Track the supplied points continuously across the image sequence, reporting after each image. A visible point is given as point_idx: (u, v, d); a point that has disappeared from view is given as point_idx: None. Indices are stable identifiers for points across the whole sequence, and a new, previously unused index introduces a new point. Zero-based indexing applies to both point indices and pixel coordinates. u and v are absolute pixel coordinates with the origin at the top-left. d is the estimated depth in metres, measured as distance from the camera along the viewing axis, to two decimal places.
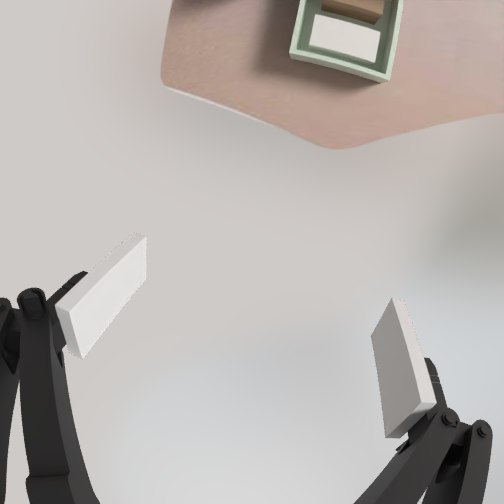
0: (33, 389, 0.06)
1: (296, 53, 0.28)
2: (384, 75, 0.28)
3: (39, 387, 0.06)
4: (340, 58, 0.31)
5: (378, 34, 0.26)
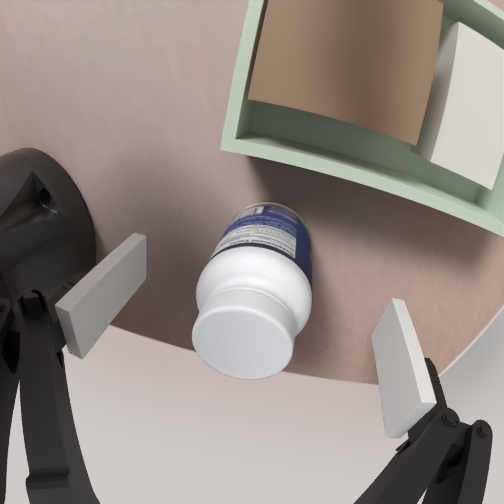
0: (33, 389, 0.06)
1: None
2: None
3: (39, 387, 0.06)
4: None
5: (465, 28, 0.08)
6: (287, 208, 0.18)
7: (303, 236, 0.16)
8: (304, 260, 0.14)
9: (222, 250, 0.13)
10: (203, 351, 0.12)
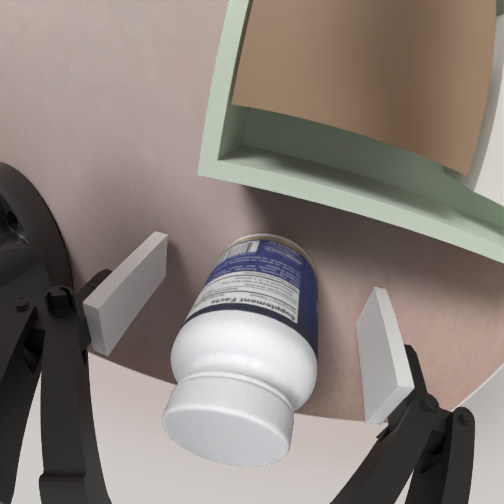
0: (55, 387, 0.07)
1: None
2: None
3: (61, 386, 0.07)
4: None
5: None
6: (289, 242, 0.14)
7: (308, 281, 0.13)
8: (309, 321, 0.11)
9: (201, 311, 0.10)
10: (178, 438, 0.08)
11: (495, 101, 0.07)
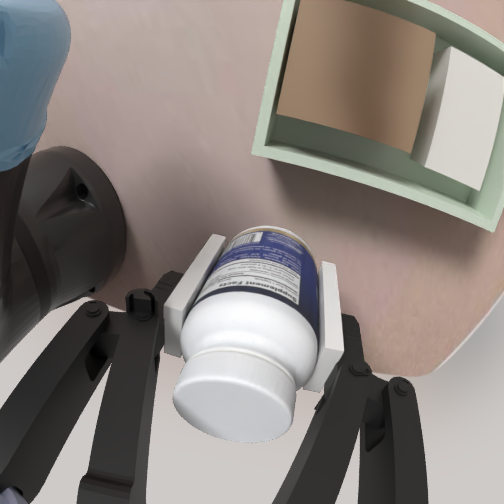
0: (120, 392, 0.07)
1: (497, 220, 0.14)
2: None
3: (128, 391, 0.07)
4: None
5: (456, 52, 0.11)
6: (290, 233, 0.15)
7: (309, 269, 0.14)
8: (309, 304, 0.11)
9: (210, 294, 0.11)
10: (187, 414, 0.09)
11: (439, 108, 0.13)
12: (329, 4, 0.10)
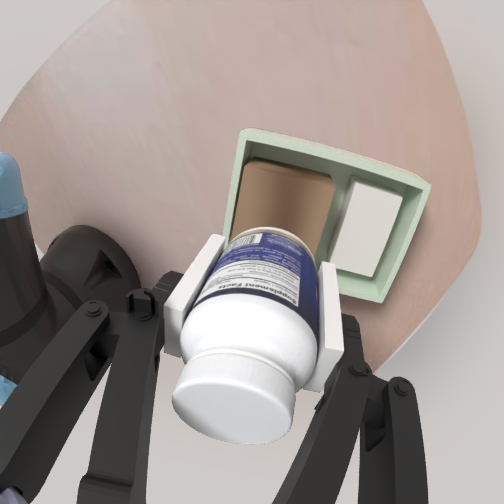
0: (120, 392, 0.07)
1: (384, 295, 0.26)
2: (424, 192, 0.21)
3: (128, 392, 0.07)
4: None
5: (359, 186, 0.23)
6: (290, 235, 0.15)
7: (308, 271, 0.14)
8: (309, 305, 0.11)
9: (209, 296, 0.11)
10: (186, 416, 0.09)
11: (341, 228, 0.25)
12: (261, 177, 0.22)
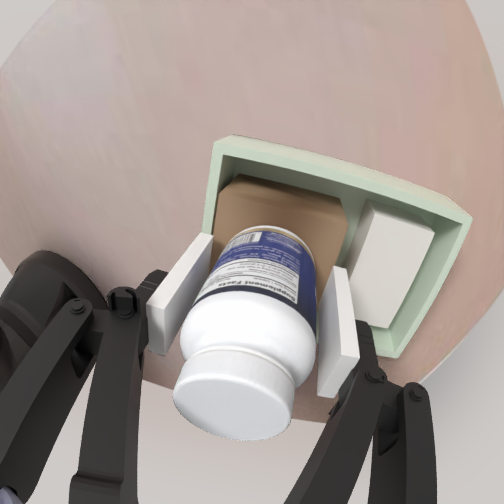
0: (106, 390, 0.07)
1: (401, 350, 0.20)
2: (464, 226, 0.15)
3: (113, 389, 0.07)
4: None
5: (380, 218, 0.17)
6: (289, 233, 0.15)
7: (307, 269, 0.14)
8: (308, 303, 0.12)
9: (209, 293, 0.11)
10: (187, 413, 0.09)
11: (352, 271, 0.19)
12: (243, 208, 0.16)
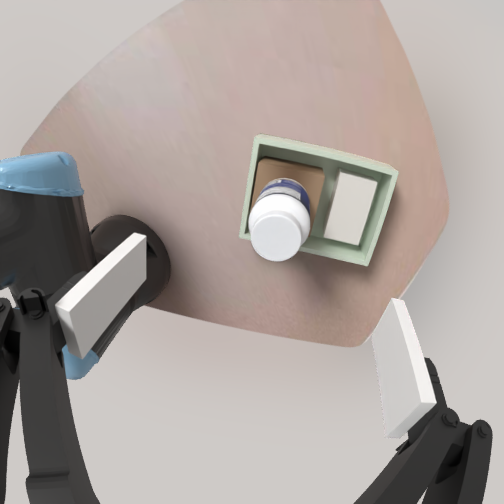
0: (33, 389, 0.06)
1: (369, 260, 0.34)
2: (393, 177, 0.29)
3: (39, 387, 0.06)
4: None
5: (343, 175, 0.31)
6: (295, 181, 0.30)
7: (304, 194, 0.28)
8: (305, 203, 0.26)
9: (262, 197, 0.26)
10: (256, 243, 0.24)
11: (331, 207, 0.33)
12: (271, 170, 0.31)
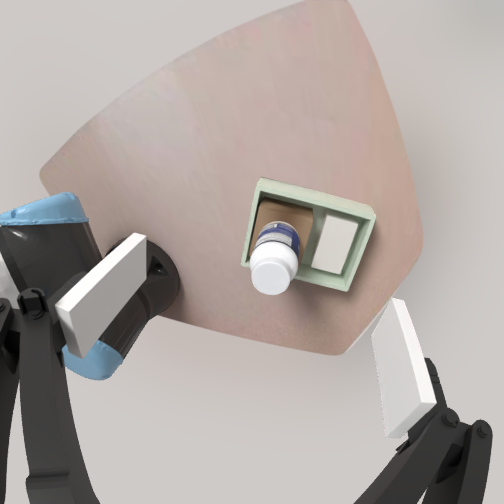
0: (33, 389, 0.06)
1: (348, 286, 0.42)
2: (371, 221, 0.37)
3: (39, 387, 0.06)
4: None
5: (329, 218, 0.39)
6: (288, 224, 0.37)
7: (295, 238, 0.36)
8: (295, 247, 0.34)
9: (261, 243, 0.33)
10: (255, 282, 0.31)
11: (318, 243, 0.41)
12: (269, 214, 0.38)
